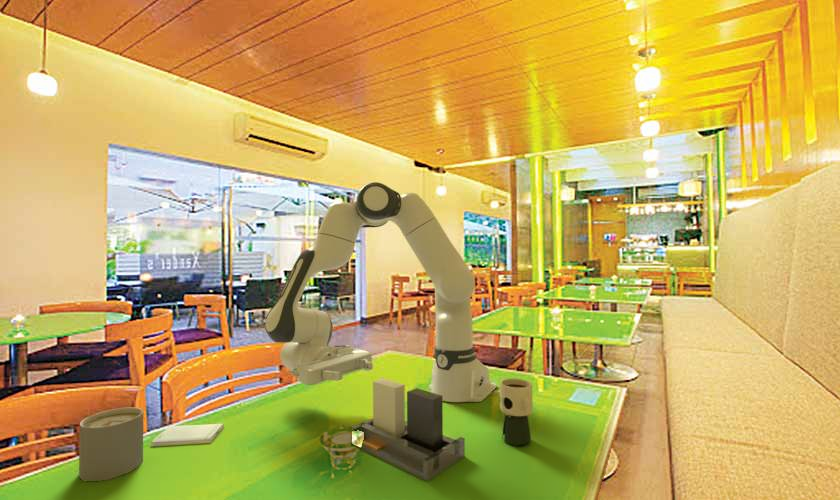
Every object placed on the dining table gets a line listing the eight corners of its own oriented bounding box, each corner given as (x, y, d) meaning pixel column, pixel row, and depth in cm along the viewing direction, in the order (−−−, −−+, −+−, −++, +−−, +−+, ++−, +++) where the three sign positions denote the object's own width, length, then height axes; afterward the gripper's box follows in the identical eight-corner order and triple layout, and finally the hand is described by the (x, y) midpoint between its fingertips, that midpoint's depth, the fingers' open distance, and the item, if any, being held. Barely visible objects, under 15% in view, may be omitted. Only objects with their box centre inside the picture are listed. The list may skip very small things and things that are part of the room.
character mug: (491, 432, 92) (491, 376, 92) (519, 428, 94) (518, 374, 94) (513, 455, 82) (512, 392, 82) (543, 451, 83) (543, 389, 84)
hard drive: (150, 441, 86) (210, 437, 88) (169, 425, 94) (224, 422, 96) (150, 449, 86) (210, 445, 88) (169, 432, 94) (224, 429, 96)
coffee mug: (132, 476, 75) (132, 423, 75) (67, 486, 71) (68, 431, 72) (155, 444, 87) (155, 399, 87) (101, 451, 84) (101, 404, 84)
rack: (390, 426, 96) (389, 371, 96) (464, 456, 81) (464, 392, 82) (351, 444, 87) (351, 384, 87) (427, 481, 72) (427, 409, 72)
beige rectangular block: (382, 430, 91) (382, 378, 91) (404, 439, 86) (404, 384, 86) (373, 434, 89) (373, 381, 89) (395, 444, 84) (395, 388, 84)
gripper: (286, 359, 96) (319, 369, 87) (351, 343, 112) (385, 349, 103) (286, 385, 96) (320, 397, 87) (352, 365, 112) (386, 374, 103)
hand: (355, 371), depth 95 cm, fingers open, 8 cm apart
